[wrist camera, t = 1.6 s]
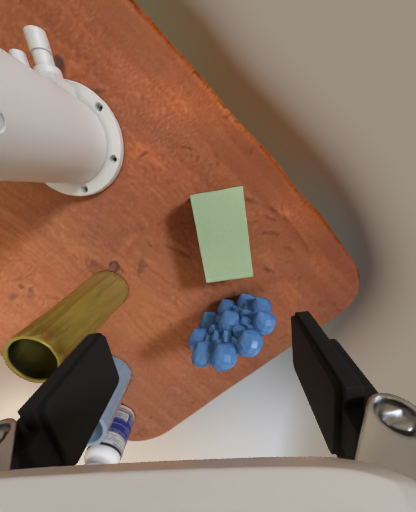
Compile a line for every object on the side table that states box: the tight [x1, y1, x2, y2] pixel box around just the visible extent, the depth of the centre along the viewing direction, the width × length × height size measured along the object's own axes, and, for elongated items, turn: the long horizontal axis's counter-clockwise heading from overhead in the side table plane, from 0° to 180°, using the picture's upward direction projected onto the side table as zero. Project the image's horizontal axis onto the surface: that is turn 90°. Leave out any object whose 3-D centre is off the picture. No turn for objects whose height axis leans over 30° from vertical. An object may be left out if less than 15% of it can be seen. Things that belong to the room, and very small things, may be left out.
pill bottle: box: [84, 405, 134, 465], centre depth 36 cm, size 6×6×10 cm
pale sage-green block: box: [190, 186, 253, 283], centre depth 27 cm, size 11×6×4 cm, turn 10°
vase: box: [3, 271, 128, 383], centre depth 26 cm, size 6×6×14 cm
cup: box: [87, 356, 132, 446], centre depth 33 cm, size 8×8×9 cm
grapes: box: [188, 294, 276, 372], centre depth 27 cm, size 12×7×12 cm, turn 113°
